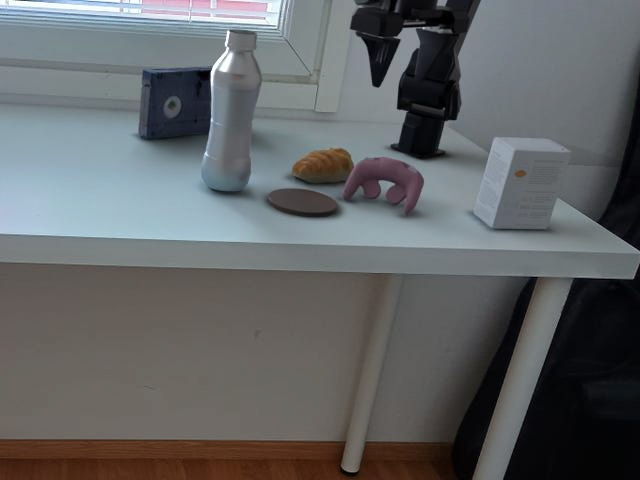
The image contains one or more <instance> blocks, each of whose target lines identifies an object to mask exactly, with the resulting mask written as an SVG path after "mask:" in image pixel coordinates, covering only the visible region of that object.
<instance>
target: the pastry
mask: <svg viewBox="0 0 640 480" xmlns="http://www.w3.org/2000/svg"><path fill="white" fill-rule="evenodd" d="M354 167H355V163H354V161H353V159H352V155H351V153H350V152H349V151H348V150H346V149H344V148H342V147H336V148H334V147H329V148H328V149H320V150H313V151H310V152H309V153H308V154H307V155H305V156H304V157H301V158H299V160H297V161H296V162H295V163H294V164H293V165H292V171H291V176H292V177H293V176H294V177H295V178H298V179H301V180H303V181H306V182H308V183H311V184H314V185H315V184H316V185H317V184H328V183H329V184H330V183H332V184H333V183H340V182H341V181H343V182H347V180H348V177H349V175H350V174H351V172H352V170H353V168H354Z"/></svg>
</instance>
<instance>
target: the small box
mask: <svg viewBox="0 0 640 480" xmlns="http://www.w3.org/2000/svg"><path fill="white" fill-rule="evenodd" d="M492 140H493V141H492V144H491V146H490V147H491V148H490V151H489V155H488V159H487V162H486V166H485V169H484V173H483V177H482V180H481V183H480V187H479V191H478V194H477V199H476V202H475V204H474V205H475V206H474V209H473V215H474V216H476V217H477V218H479V220H481V221H482V222H483V223H485V224H486V225H487V226H488V227H490V228H491V229H492V230H493V229H494V230H495V229H496V230H547V229H548V228H549V224H550V221H551V218H552V215H553V213H554V209H555V206H556V203H557V200H558V196H559V194H560V191H561V188H562V185H563V182H564V178H565V175H566V173H567V169H568V166H569V164H570V161H571V157H572V154H573V152H572V150H570V149H568V148H566V147H564V146H563V145H561V144H559V143H558V142H555V141H554V140H552V139H550V138H535V137H534V138H533V137H508V136H507V137H504V136H503V137H502V136H495V137H493V139H492Z"/></svg>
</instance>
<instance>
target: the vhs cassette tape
mask: <svg viewBox="0 0 640 480" xmlns="http://www.w3.org/2000/svg"><path fill="white" fill-rule="evenodd" d="M213 67H214V65H210V66H208V65H207V66H187V67H170V68H149V69H142V75H141V87H140V88H141V89H140V103H139V115H138V119H139V120H138V130H137V131H138V135H139V136H141V137H142V138H144V139H146V140H153V139H161V138H162V139H163V138H170V137H180V136H190V135H202V134H209V131H210V125H211V117H212V116H211V106H212V99H211V72H212V69H213Z"/></svg>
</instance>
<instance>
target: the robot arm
mask: <svg viewBox="0 0 640 480" xmlns="http://www.w3.org/2000/svg"><path fill="white" fill-rule="evenodd" d="M481 1H482V0H446V2H445V4H444V5H438V2H439V0H353V2H354V3H355V5H356V6H360V7H358V8H356V10H355V11H354V12H352V14H351V16H350V17H351V19H350V23H349V30H352V31H354V33H355V36H356V37H357V38H358V37H359V38H360V39H361V40H362V42H363V43H364V45H365V47H366V50H367V55H368V61H369V70H370V80H371V85H372V87H373V88H378V89H379V88H380V87H381V86H382V84H383V82H384V80H385V78H386V76H387V73H388V71H389V69H390V67H391V64H392V62H393V59H394V57H395V55H396V53H397V50H398V48H399V46H400V44H401V41H402V39H401V38H398V36H400V34H401V33H402V32H403V29H412V28H413V29H415V32H416V35H417V38H418V40H419V47H417V48H415V49H414V50H413V52H412V54H411V56H410V59H409V62H408V64H407V66H406V68H405V70H404V71H403V72H402V74H401V76H400V78H399V82H398V86H397V87H398V88H397V99H396V110H398V111H403V112H405V116H404V120H403V122H402V126H401V130H400V135H399V139H398V143H397V142H396V143H391V144H390V148H391V149H393V150H396V151H398V152H401V153H404V154H406V155H409V156H412V157H415V158H418V159H427V158H433V157H438V156H444V155H446V153H447V151H446V150H444V149H441V148H439V147H440V143H441V139H442V134H443V132H444V131H443V130H444V129H445V128H444V127H445V123H446V122H449V121H457V120H458V116H459V114H460V111H461V107H462V104H463V102H462V94H461V87H460V86H461V85H460V81H461V77H462V73H461V66H460V61H459V55H460V52H461V50H462V47H463V46H464V42H465V40H466V37H467V35H468V33H469V30H470V28H471V26H472V24H473V20H474V18H475V16H476V13H477V11H478V10H479V9H478V8H479V6H480V4H481Z"/></svg>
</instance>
